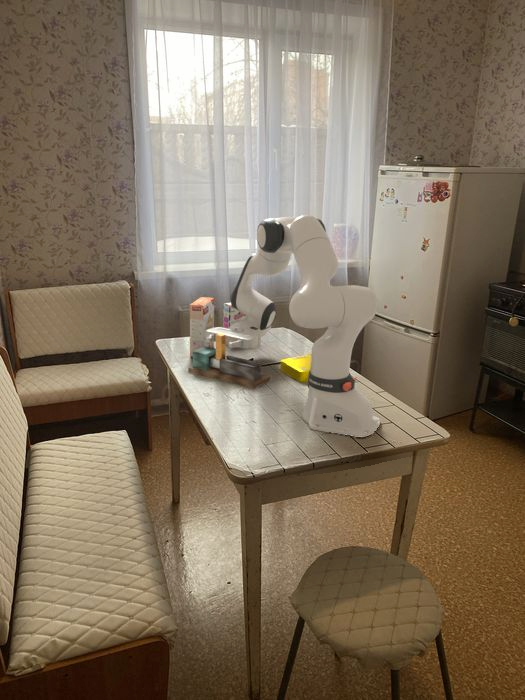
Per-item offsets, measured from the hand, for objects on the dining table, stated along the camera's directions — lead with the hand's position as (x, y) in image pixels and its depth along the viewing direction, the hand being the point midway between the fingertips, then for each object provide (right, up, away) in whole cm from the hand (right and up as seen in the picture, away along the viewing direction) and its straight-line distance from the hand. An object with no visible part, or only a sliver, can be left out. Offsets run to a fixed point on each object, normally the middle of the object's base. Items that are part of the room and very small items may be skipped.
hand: (218, 343), depth 181 cm
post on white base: (-1, -8, +4) cm, 9 cm away
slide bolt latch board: (+3, -11, +3) cm, 12 cm away
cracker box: (-9, -3, +26) cm, 28 cm away
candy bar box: (+4, +2, +42) cm, 42 cm away
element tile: (+31, -11, +8) cm, 34 cm away
